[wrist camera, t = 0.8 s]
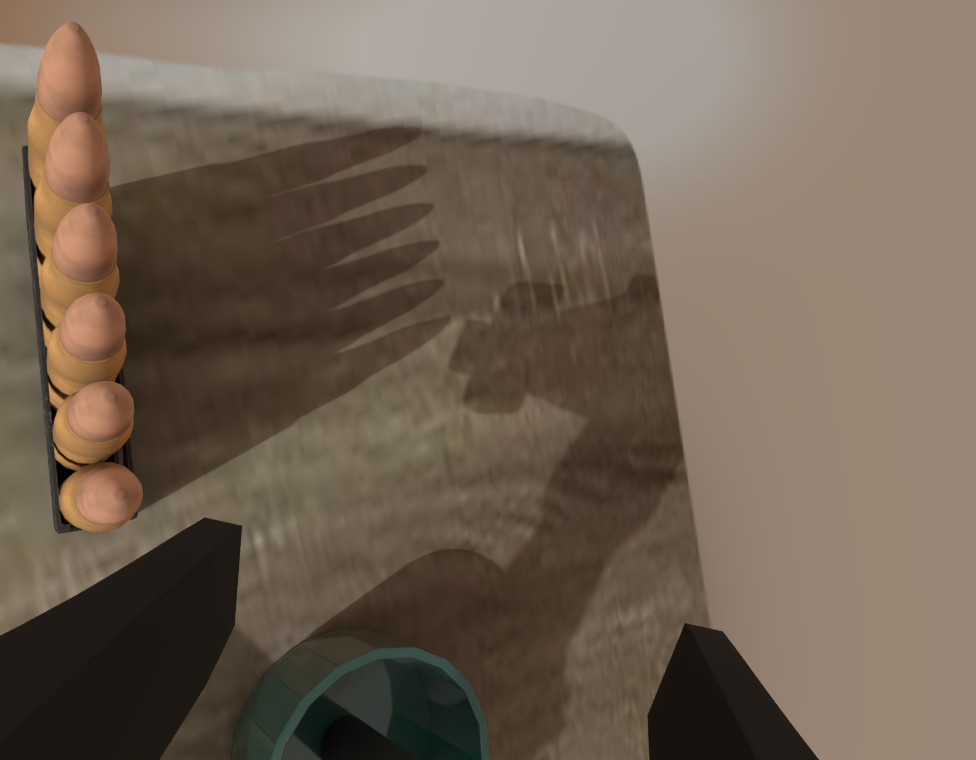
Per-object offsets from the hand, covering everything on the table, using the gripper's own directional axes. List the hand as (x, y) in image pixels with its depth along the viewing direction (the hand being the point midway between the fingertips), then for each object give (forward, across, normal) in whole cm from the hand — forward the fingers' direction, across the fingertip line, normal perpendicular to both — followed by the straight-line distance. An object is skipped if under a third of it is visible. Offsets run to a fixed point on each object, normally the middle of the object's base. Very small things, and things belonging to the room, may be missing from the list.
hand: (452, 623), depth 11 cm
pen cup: (+9, +3, +15) cm, 18 cm away
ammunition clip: (+11, +14, +3) cm, 18 cm away
